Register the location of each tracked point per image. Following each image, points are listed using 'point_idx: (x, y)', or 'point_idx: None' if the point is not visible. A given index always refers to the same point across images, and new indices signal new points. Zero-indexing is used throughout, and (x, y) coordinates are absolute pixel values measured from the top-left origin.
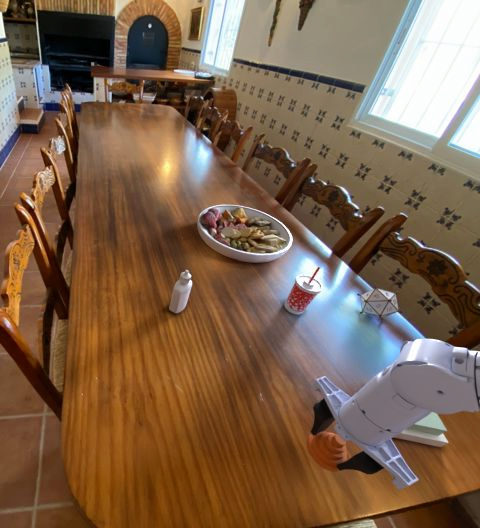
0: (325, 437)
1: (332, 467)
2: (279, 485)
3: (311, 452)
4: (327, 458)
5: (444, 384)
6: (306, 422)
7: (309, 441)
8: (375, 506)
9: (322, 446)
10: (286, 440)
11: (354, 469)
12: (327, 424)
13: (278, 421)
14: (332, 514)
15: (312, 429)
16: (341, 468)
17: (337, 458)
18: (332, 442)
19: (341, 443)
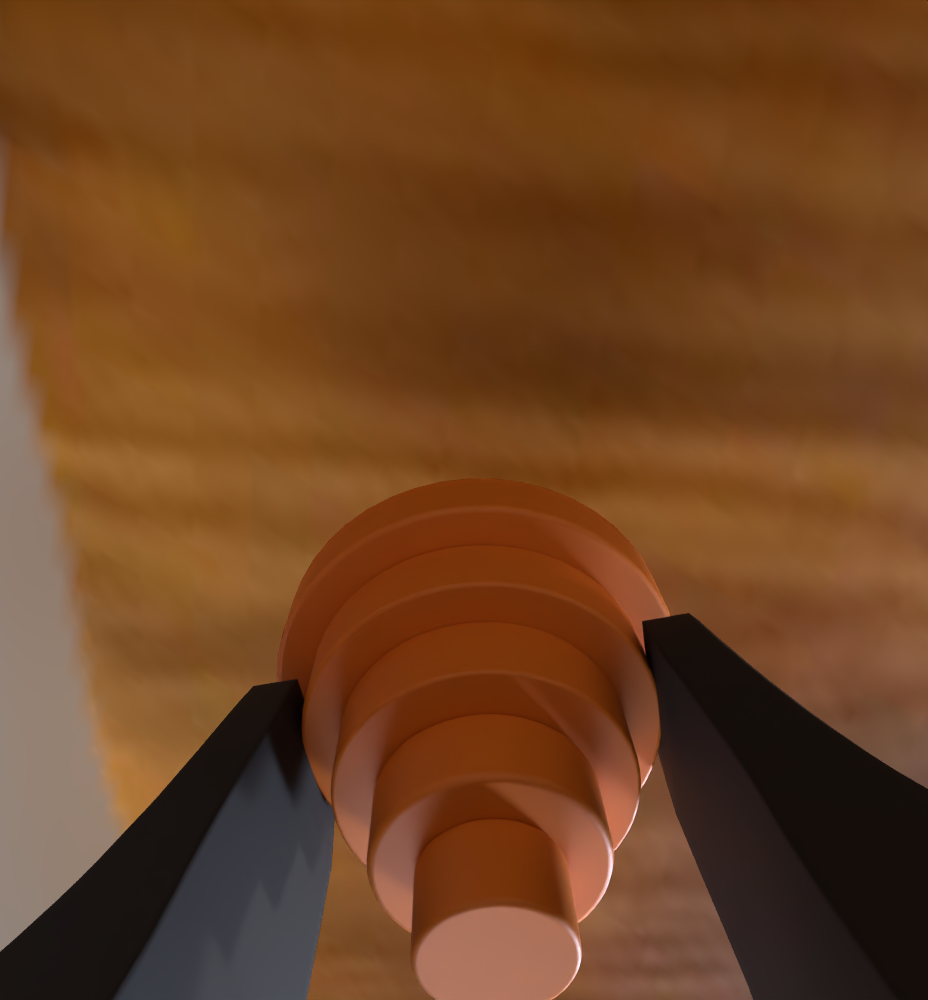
0: (586, 752)
1: (298, 633)
2: (286, 29)
3: (480, 497)
4: (365, 631)
5: None
6: (750, 639)
7: (595, 542)
8: (127, 772)
9: (494, 652)
10: (663, 365)
11: (37, 922)
12: (740, 896)
13: (845, 383)
14: (59, 439)
15: (721, 649)
16: (231, 722)
17: (337, 743)
18: (497, 813)
19: (440, 945)
